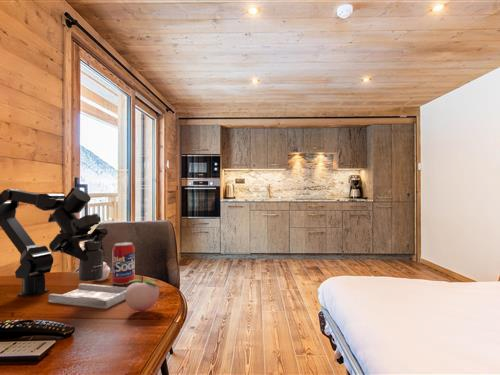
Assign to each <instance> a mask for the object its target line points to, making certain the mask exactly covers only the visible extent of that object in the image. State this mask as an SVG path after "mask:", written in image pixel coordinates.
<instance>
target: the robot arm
mask: <svg viewBox="0 0 500 375" xmlns="http://www.w3.org/2000/svg"><path fill="white" fill-rule="evenodd" d="M91 200H92V198H91V196H90V195H89V193H87V192H85V191H84V190H82V189H80V188H79V187H72V188H71V189H70V190H69V192H68V194H66V195H65V194H64V193H37V192H32V191H26V190H22V189H19V188H16V189H15V188H14V189H13V188H7V189H3V191H2V192H0V229H2V230H3V232H4V234H6V236H7V238H8V239H9V240H10V242H11V243H12V244H13V246H14V247H15V248H16V250H17V251H18V252H19V254H20V258H19V263H20V265H19V267H18V268H17V269H16V270H15V271H14V274H15V278H16V279H21V282H22V284H21V285H22V286H21V287H22V288H21V292H19V293H17V296H21V297H30V298H32V297H35V296H38V295H41V294H43V293H46V292H49V291H50V289H47V288H46V274H49V273H51V270H52V267H53V264H54V256H53V253H57V252H58V253H61V254H66V255H68V256H71V257H74V258H75V259H78V260H82V261H84V262H86V261H87V260H88V258H87V256H86V255H85V253H84V252H83V250H84V249H83V248H82V247H81V246H80V243H81V242H86V241H101V247H100V249H101V250H103V252H104V256H105V250H104V246H103V240H104V238H105V237H106V236H107V235H108V233H109V231H108V229H107V228H106V227H97V228H94V229H93V230H92V227H94V226H96V225H99V223H101V221H102V218H101V216H100V215H99V214H98V213H92V214H87V215H83V216H82V217H80V218H78V217H77V216H76V214H79V213H81V212H82V211H83V209H85V207H86V206H87V204H88V203H89V202H90V201H91ZM20 203H24V204H28V205H34V206H35V207H36V208H37V209H39V210H42V211H45V212H47V211H49V212H50V211H53V213H50V214H49V217H48V221H47V222H48V223H54V222H55V223H56V224H57V226H58V227H59V228H60V230H59V233H57V235H56V236H54V238H53V239H52V240H51V241H50V242H49V245H48V247H49V248H48V247H47V245H37V244H36V243H35V242H34V241H33V239H32V238H31V236H30V235H29V234H28V233H27V231H26V230H25V228H24V227H23V226H22V224H21V223H20V221H18V219H17V218H16V215H17V208H18V207H19V206H20ZM91 230H92V231H91ZM90 231H91V233H89V232H90Z"/></svg>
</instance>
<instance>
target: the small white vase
mask: <svg viewBox="0 0 500 375" xmlns="http://www.w3.org/2000/svg"><path fill="white" fill-rule="evenodd" d="M110 271H111V268H110V267H109V265H107V262H105V261H103V275H102V278H101V279H99V280H98V281H105V280H107V278H108V277H109V275H110V273H111V272H110Z"/></svg>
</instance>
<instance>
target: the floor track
mask: <svg viewBox="0 0 500 375" xmlns="http://www.w3.org/2000/svg"><path fill="white" fill-rule="evenodd" d="M77 286H78V288H76V289H73V290H71V291H69V292H65V293H63V294H59V293H50V294H48V303H53V304H61V305H71V306H78V307H88V308H97V309H104V310H106V309H109V308H111V307H113V306H115V305H117V304H119V303H121V302H123V301H126V299H125V293H126V290H127V288H128V286H127V287H126V286H118V285H115V286H114V285H103V284H93V283H79V284H77Z"/></svg>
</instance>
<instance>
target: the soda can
mask: <svg viewBox="0 0 500 375" xmlns="http://www.w3.org/2000/svg"><path fill="white" fill-rule="evenodd" d="M111 250H112V251H111V252H112V254H111V255H112V256H111V257H112V261H111V262H112V263H111V265H112V267H111V268H112V272H111V274H112V275H111V276H112V278H111V279H112V280H111V281H112V283H113V284H115V286H124V284H126V285H129V284H128V282H129V281H132V280H136V279H135V276H136V273H135V270H136V269H135V267H136V265H135V261H136V260H135V254H136V253H135V252H136V251H135V250H136V248H135V246H134V244H133V242H118V243H117V242H116V243H114V245H113V248H112V249H111Z"/></svg>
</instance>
